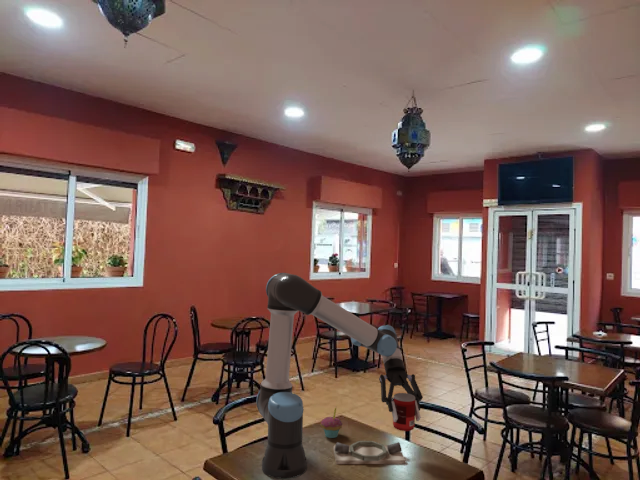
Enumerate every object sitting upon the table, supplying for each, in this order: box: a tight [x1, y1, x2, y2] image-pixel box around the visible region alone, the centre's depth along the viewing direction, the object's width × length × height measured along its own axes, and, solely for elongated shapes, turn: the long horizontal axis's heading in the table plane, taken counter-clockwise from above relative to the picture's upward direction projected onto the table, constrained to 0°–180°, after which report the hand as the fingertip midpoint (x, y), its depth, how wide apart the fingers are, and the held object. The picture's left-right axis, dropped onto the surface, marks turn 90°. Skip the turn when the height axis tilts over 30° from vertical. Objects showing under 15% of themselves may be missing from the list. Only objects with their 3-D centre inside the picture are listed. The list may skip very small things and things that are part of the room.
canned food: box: [392, 392, 416, 432], centre depth 159 cm, size 8×8×11 cm
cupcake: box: [320, 407, 343, 439], centre depth 176 cm, size 9×8×12 cm
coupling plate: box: [333, 440, 406, 465], centre depth 159 cm, size 24×13×5 cm, turn 93°
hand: (407, 419), depth 156 cm, fingers closed on canned food, 8 cm apart
